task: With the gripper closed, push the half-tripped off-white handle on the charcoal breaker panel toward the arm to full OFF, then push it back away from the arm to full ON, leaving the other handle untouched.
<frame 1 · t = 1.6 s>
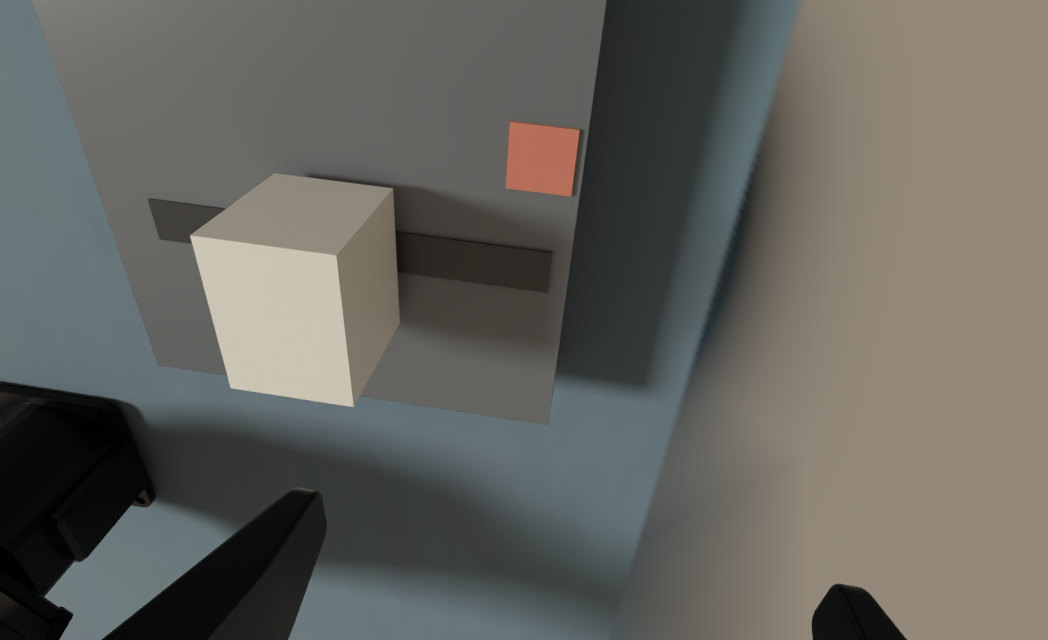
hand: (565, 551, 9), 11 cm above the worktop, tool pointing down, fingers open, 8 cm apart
tripped handle: (312, 286, 14), point 5 cm above the worktop, slide at 4.0 cm
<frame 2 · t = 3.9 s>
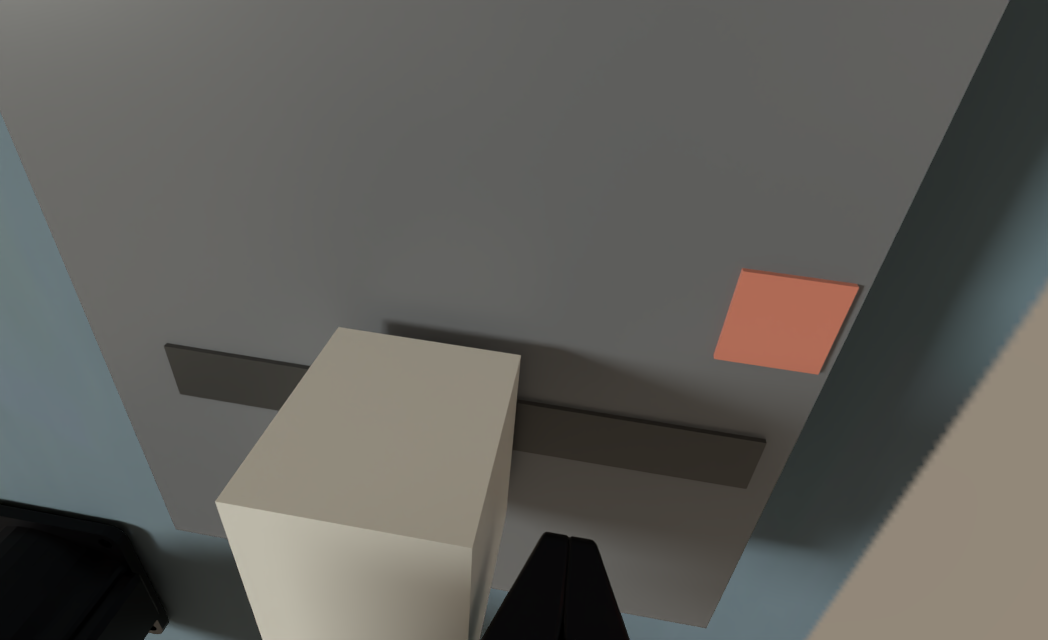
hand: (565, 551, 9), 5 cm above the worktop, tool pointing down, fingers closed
tripped handle: (399, 509, 9), point 5 cm above the worktop, slide at 3.7 cm, touching gripper
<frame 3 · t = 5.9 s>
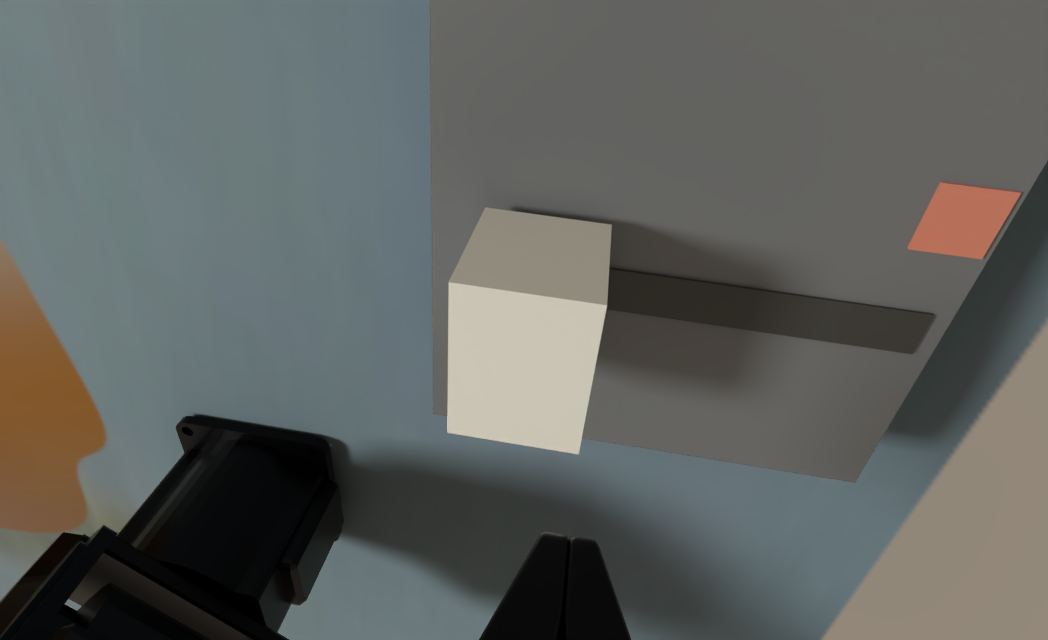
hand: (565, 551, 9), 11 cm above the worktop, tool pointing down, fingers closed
tripped handle: (530, 327, 14), point 5 cm above the worktop, slide at -0.1 cm
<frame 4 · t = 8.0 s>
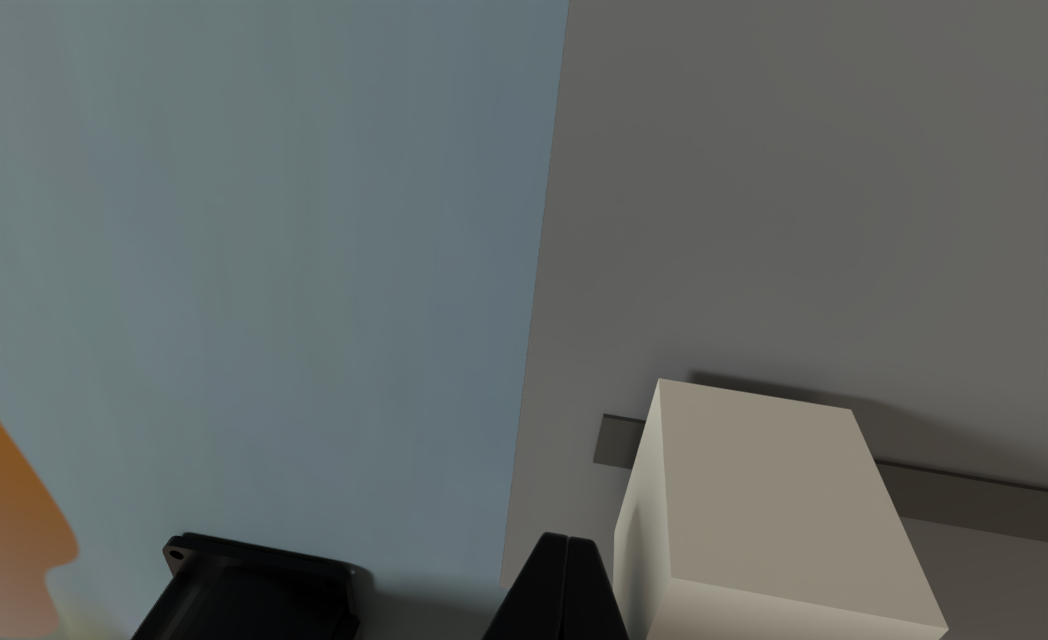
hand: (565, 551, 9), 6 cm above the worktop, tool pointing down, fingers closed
tripped handle: (732, 566, 9), point 5 cm above the worktop, slide at 0.7 cm, touching gripper
breaker panel: (983, 68, 10), on the worktop
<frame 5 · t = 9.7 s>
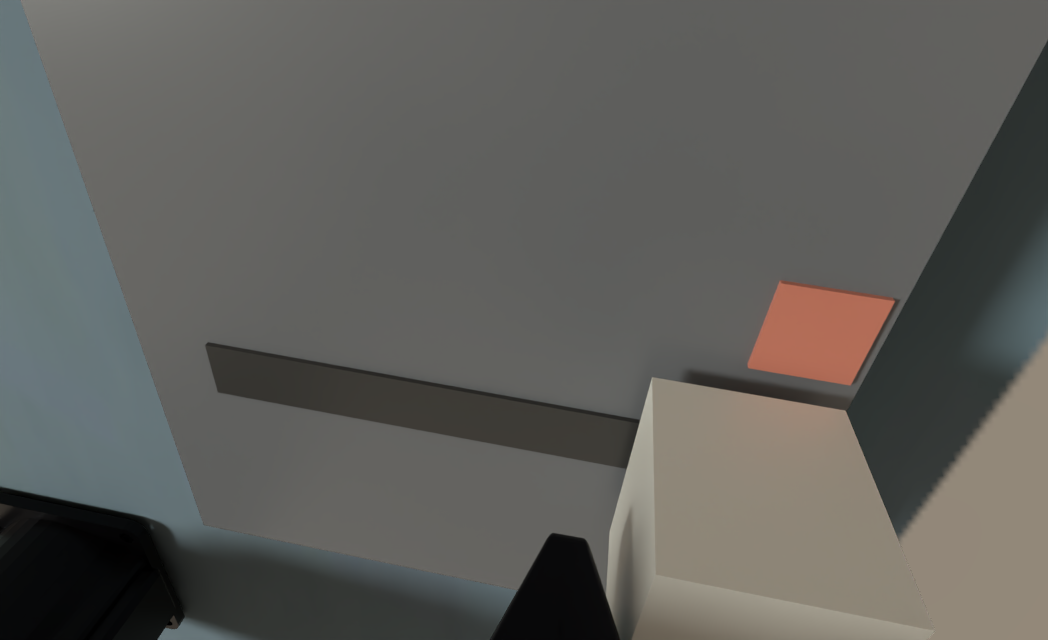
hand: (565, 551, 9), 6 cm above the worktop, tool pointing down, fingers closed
tripped handle: (724, 566, 9), point 5 cm above the worktop, slide at 8.2 cm, touching gripper
breaker panel: (516, 10, 10), on the worktop
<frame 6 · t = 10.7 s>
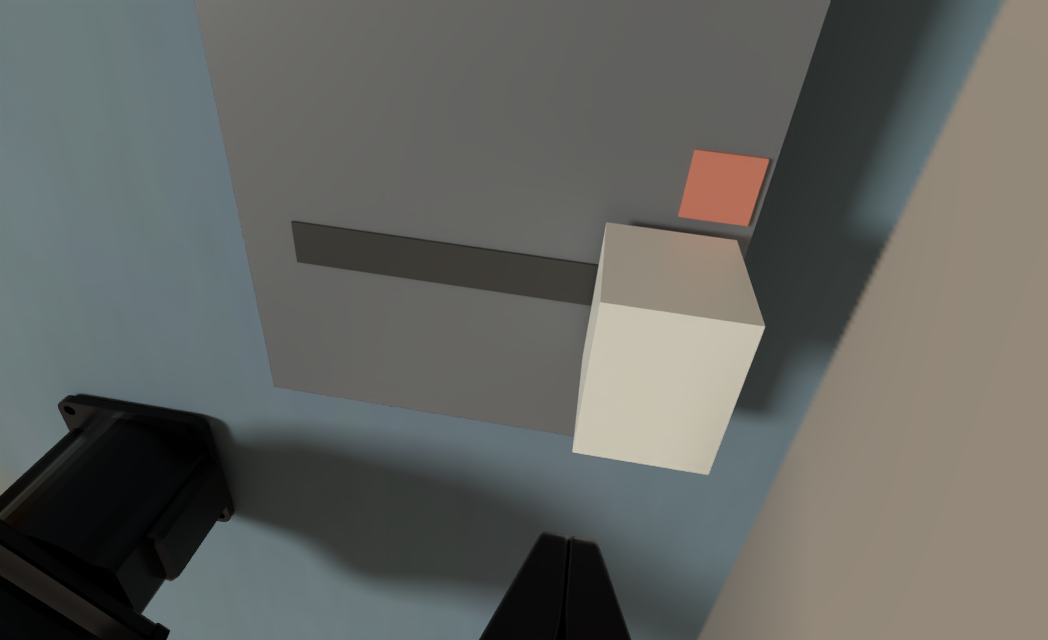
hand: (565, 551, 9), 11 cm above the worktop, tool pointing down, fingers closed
tripped handle: (655, 344, 13), point 5 cm above the worktop, slide at 8.1 cm
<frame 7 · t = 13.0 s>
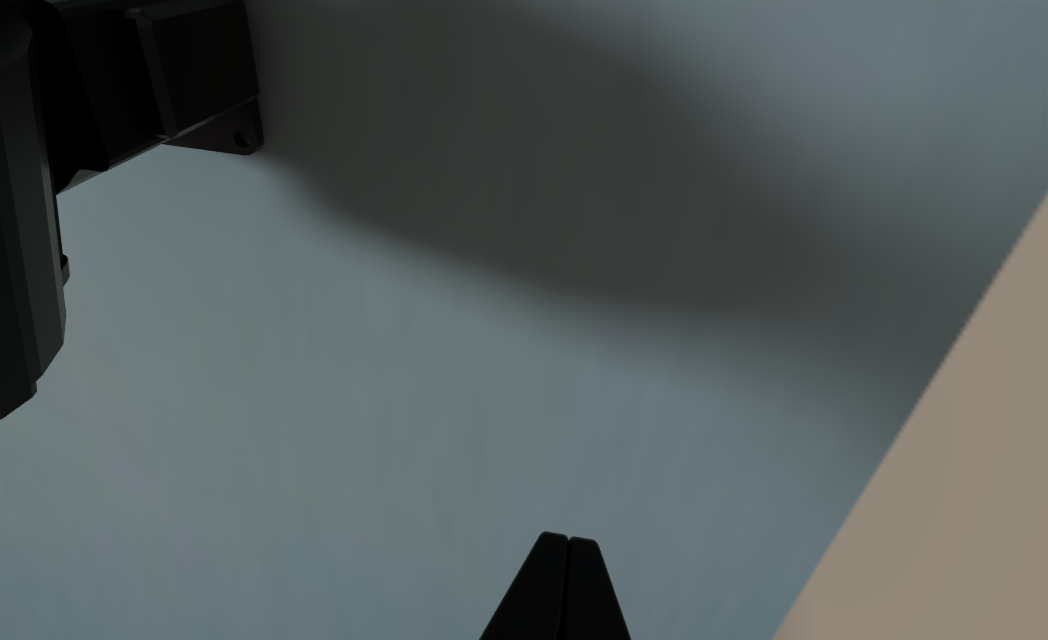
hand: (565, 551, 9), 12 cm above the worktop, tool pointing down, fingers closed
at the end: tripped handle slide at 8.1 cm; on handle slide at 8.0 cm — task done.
